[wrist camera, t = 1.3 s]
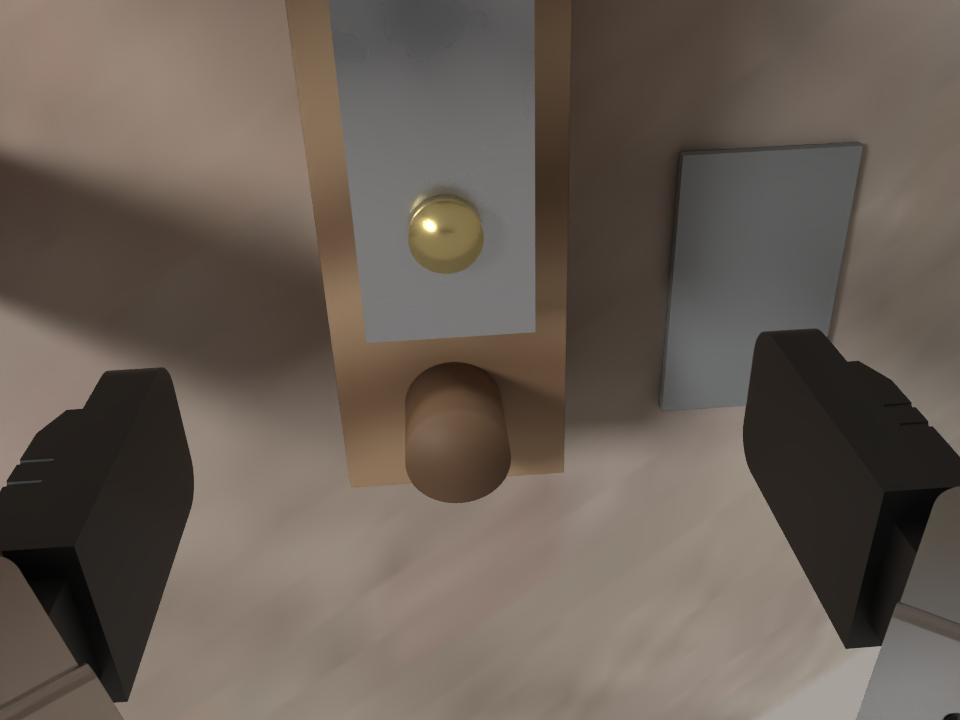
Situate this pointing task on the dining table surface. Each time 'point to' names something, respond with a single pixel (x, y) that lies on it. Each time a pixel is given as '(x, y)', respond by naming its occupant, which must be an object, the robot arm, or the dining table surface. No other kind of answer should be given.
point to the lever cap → (440, 163)
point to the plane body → (444, 361)
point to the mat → (750, 260)
